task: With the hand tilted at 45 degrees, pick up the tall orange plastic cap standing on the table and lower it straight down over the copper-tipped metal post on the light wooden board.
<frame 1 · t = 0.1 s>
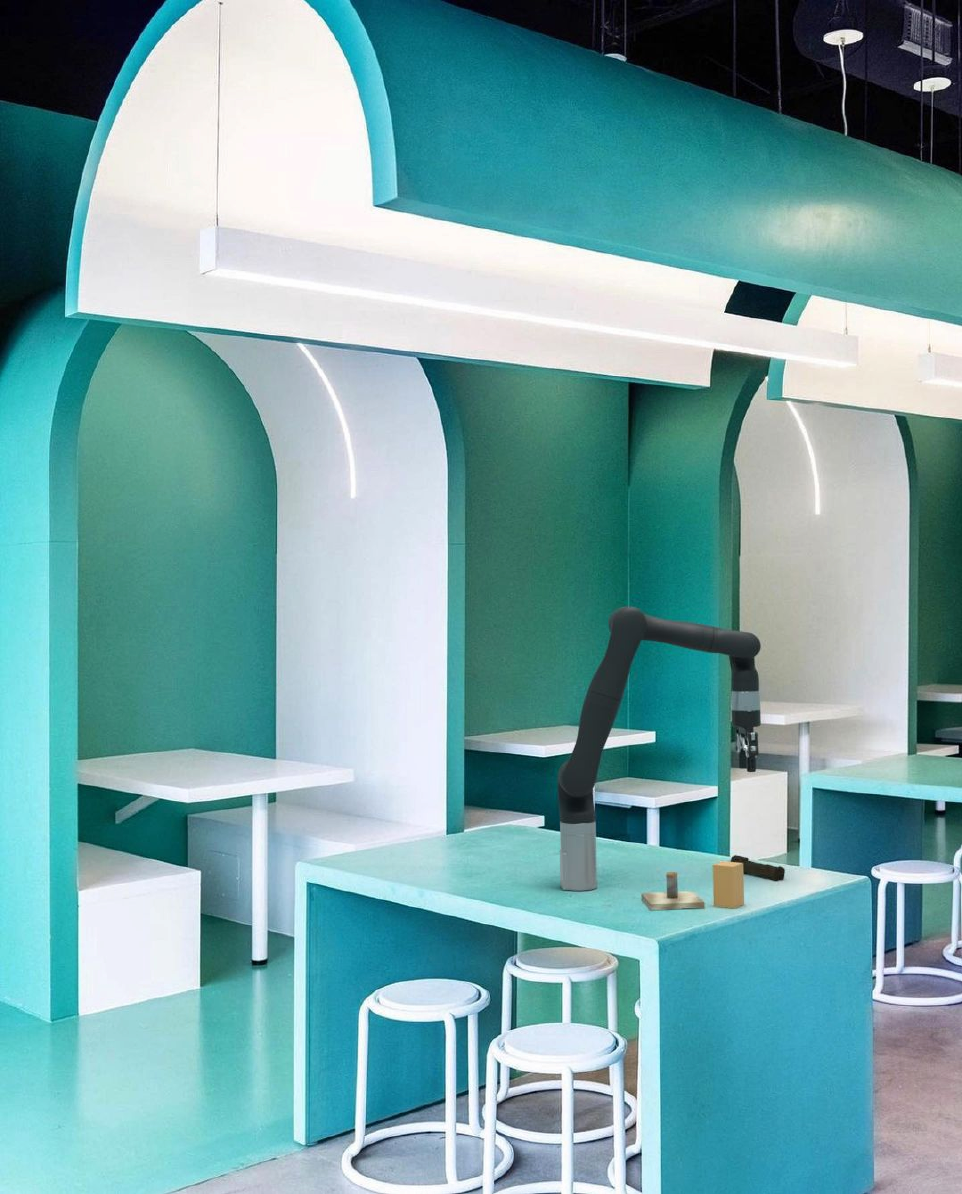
hand: (747, 770, 362), 29 cm above the table, tool pointing down, fingers open, 8 cm apart
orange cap: (728, 905, 334), on the table
post board: (672, 903, 338), on the table
hand tool: (753, 877, 370), on the table
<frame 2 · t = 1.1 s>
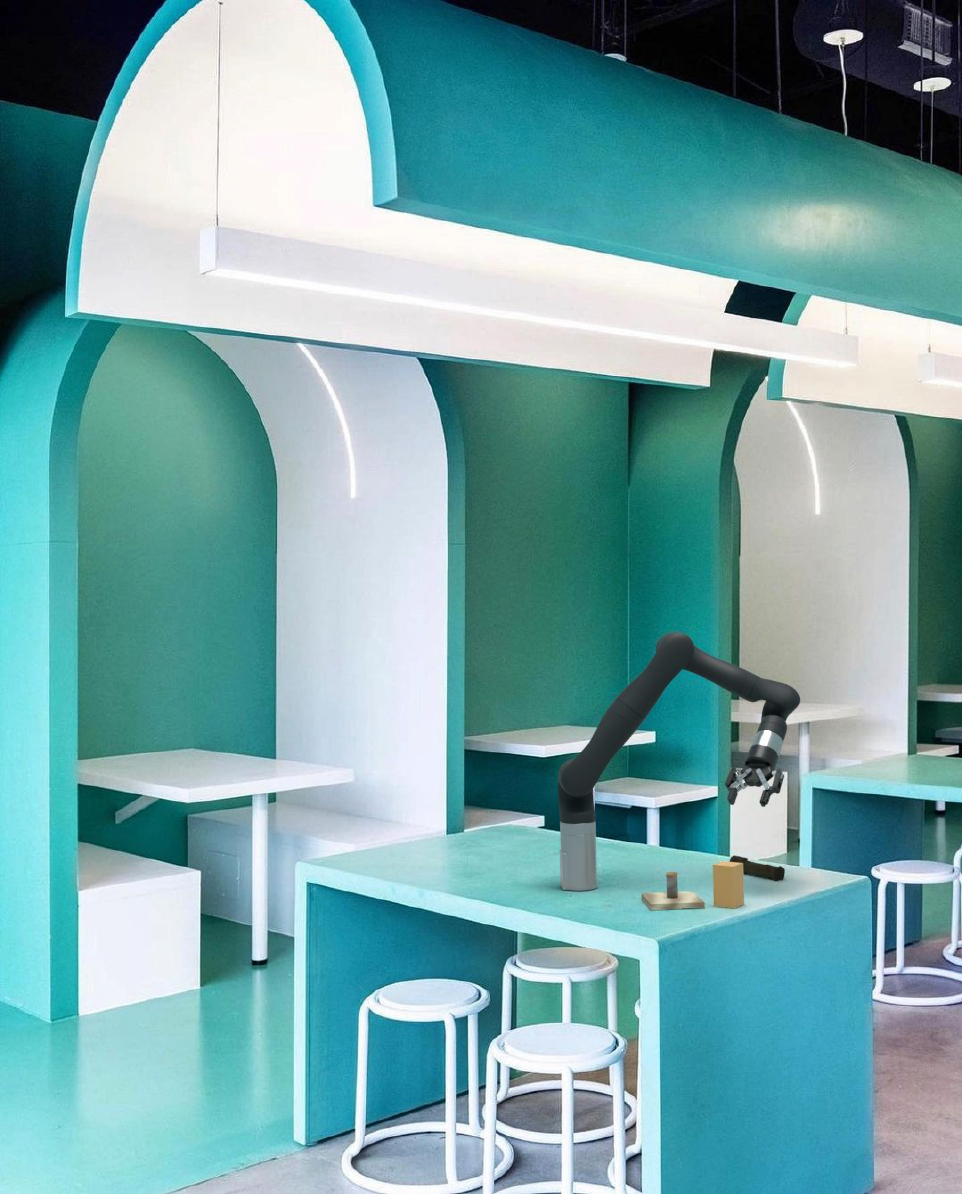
hand: (746, 804, 343), 23 cm above the table, tool tilted 45°, fingers open, 8 cm apart
nothing on the table moved.
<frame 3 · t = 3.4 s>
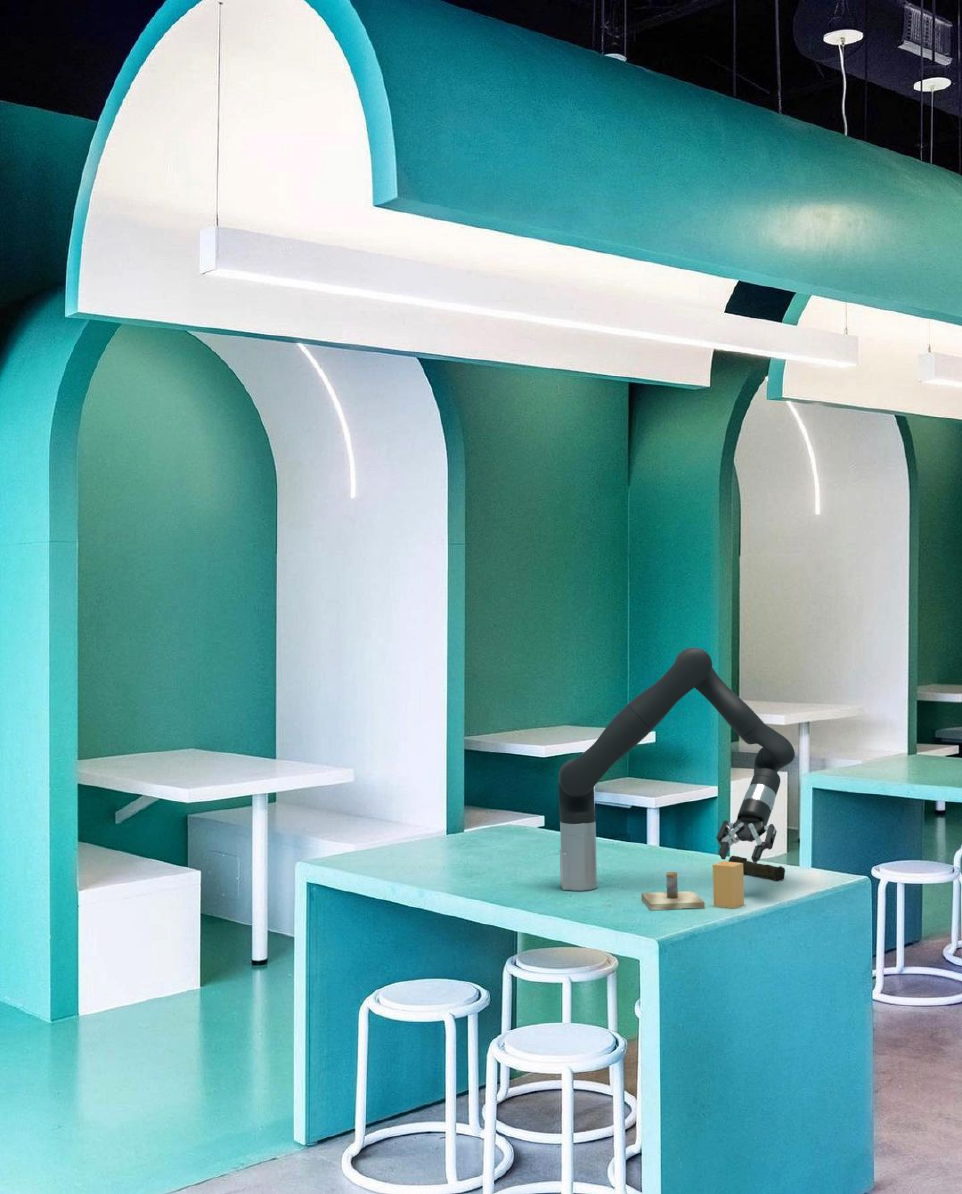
hand: (737, 859, 339), 10 cm above the table, tool tilted 45°, fingers open, 8 cm apart
nothing on the table moved.
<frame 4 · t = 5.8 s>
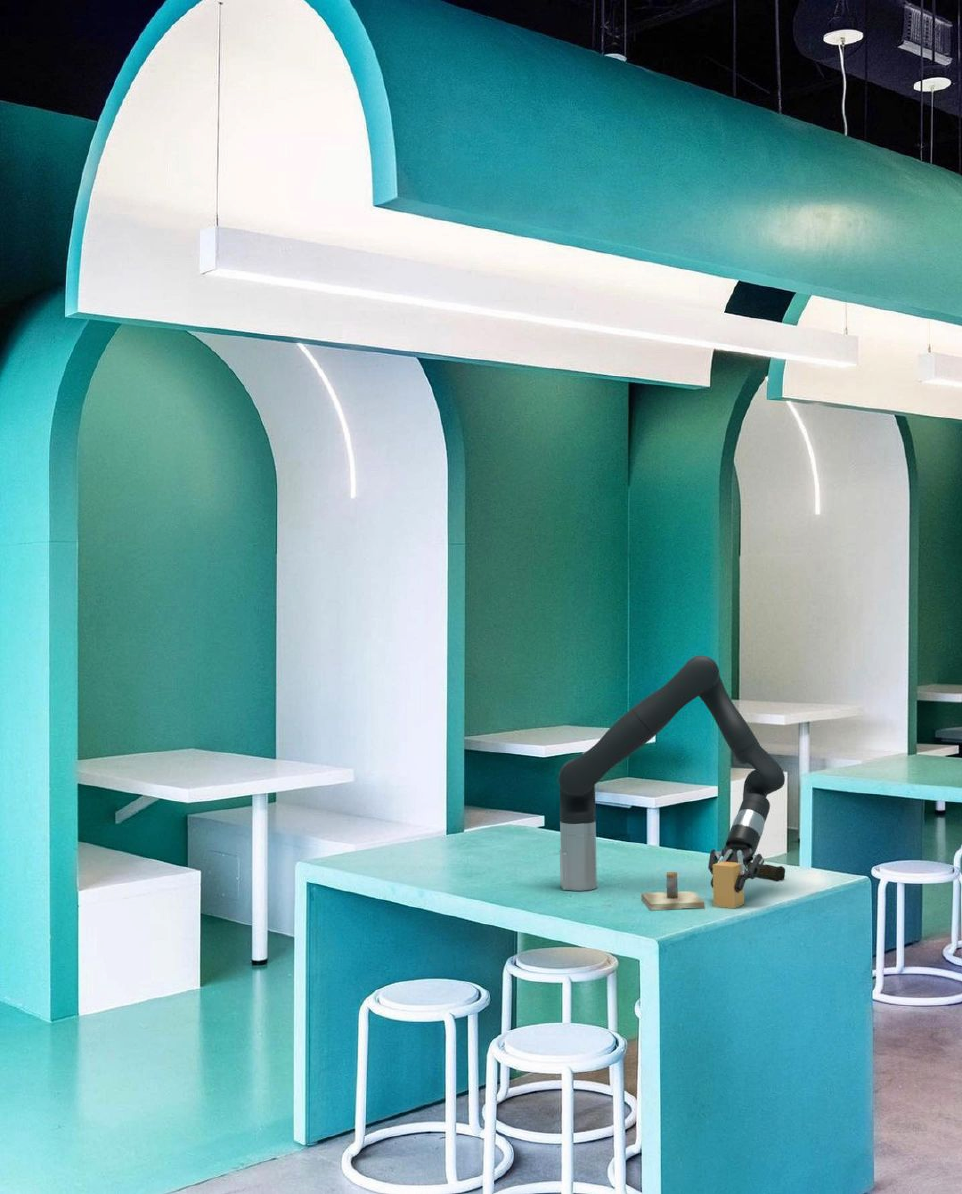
hand: (725, 889, 333), 4 cm above the table, tool tilted 45°, fingers closed on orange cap, 5 cm apart
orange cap: (729, 905, 334), on the table, touching gripper
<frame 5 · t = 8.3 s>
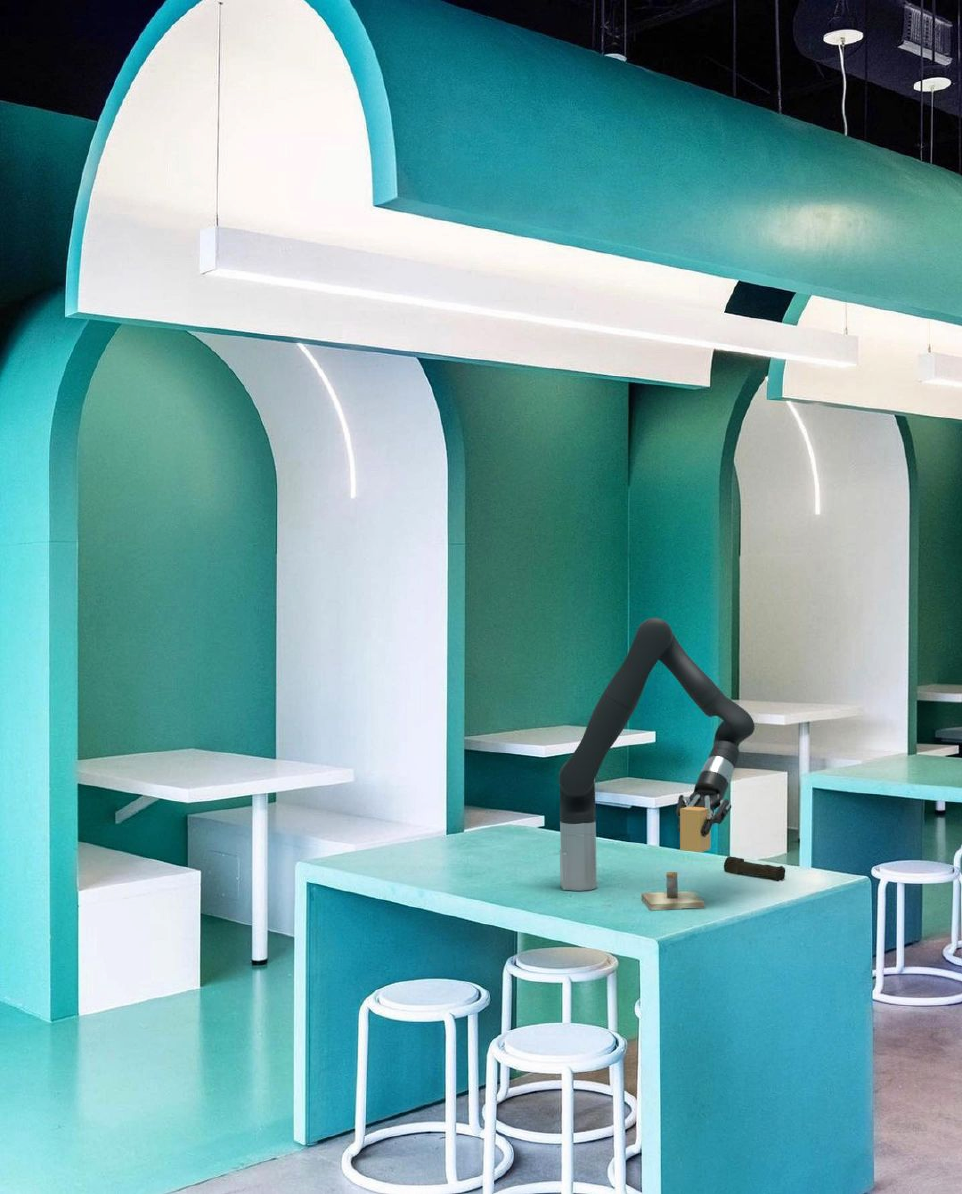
hand: (691, 833, 335), 18 cm above the table, tool tilted 45°, fingers closed on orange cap, 5 cm apart
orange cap: (695, 849, 336), point 13 cm above the table, touching gripper
when the fingers open (7 cm above the table, at t = 10.9 s): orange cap stays where it is, resting on post board.
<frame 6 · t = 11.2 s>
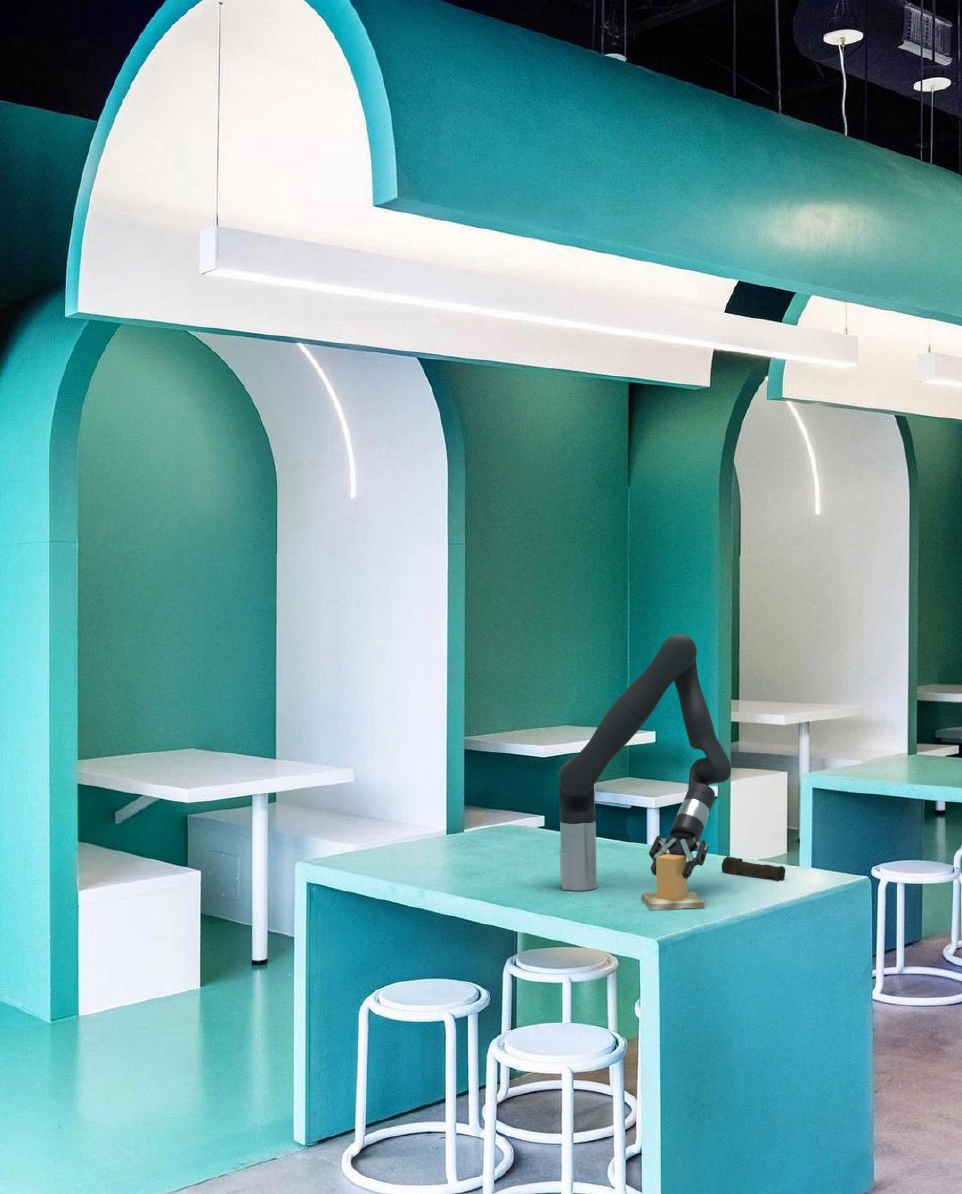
hand: (669, 875, 337), 7 cm above the table, tool tilted 45°, fingers open, 8 cm apart
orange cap: (672, 897, 338), point 1 cm above the table, touching post board
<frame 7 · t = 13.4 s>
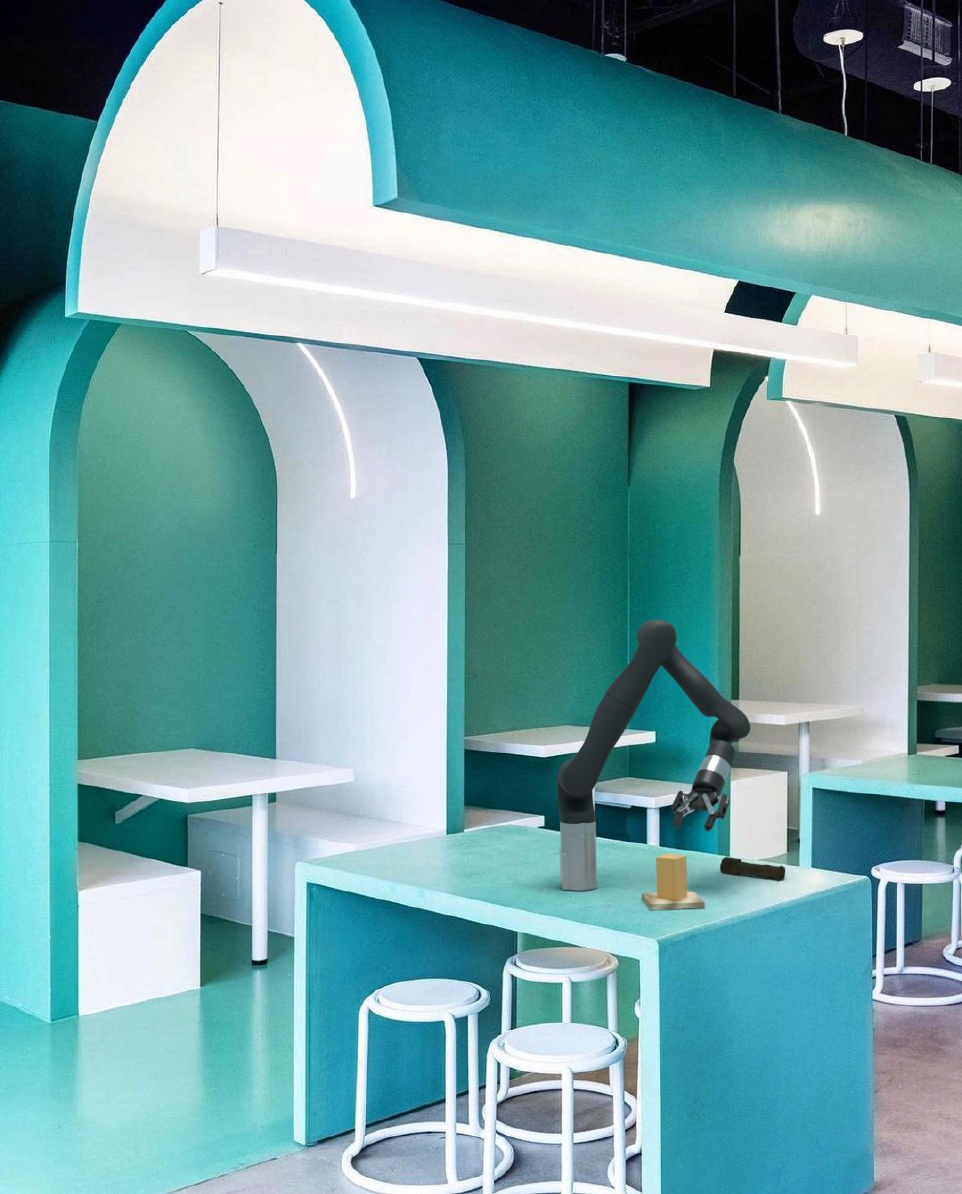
hand: (691, 828, 346), 17 cm above the table, tool tilted 45°, fingers open, 8 cm apart
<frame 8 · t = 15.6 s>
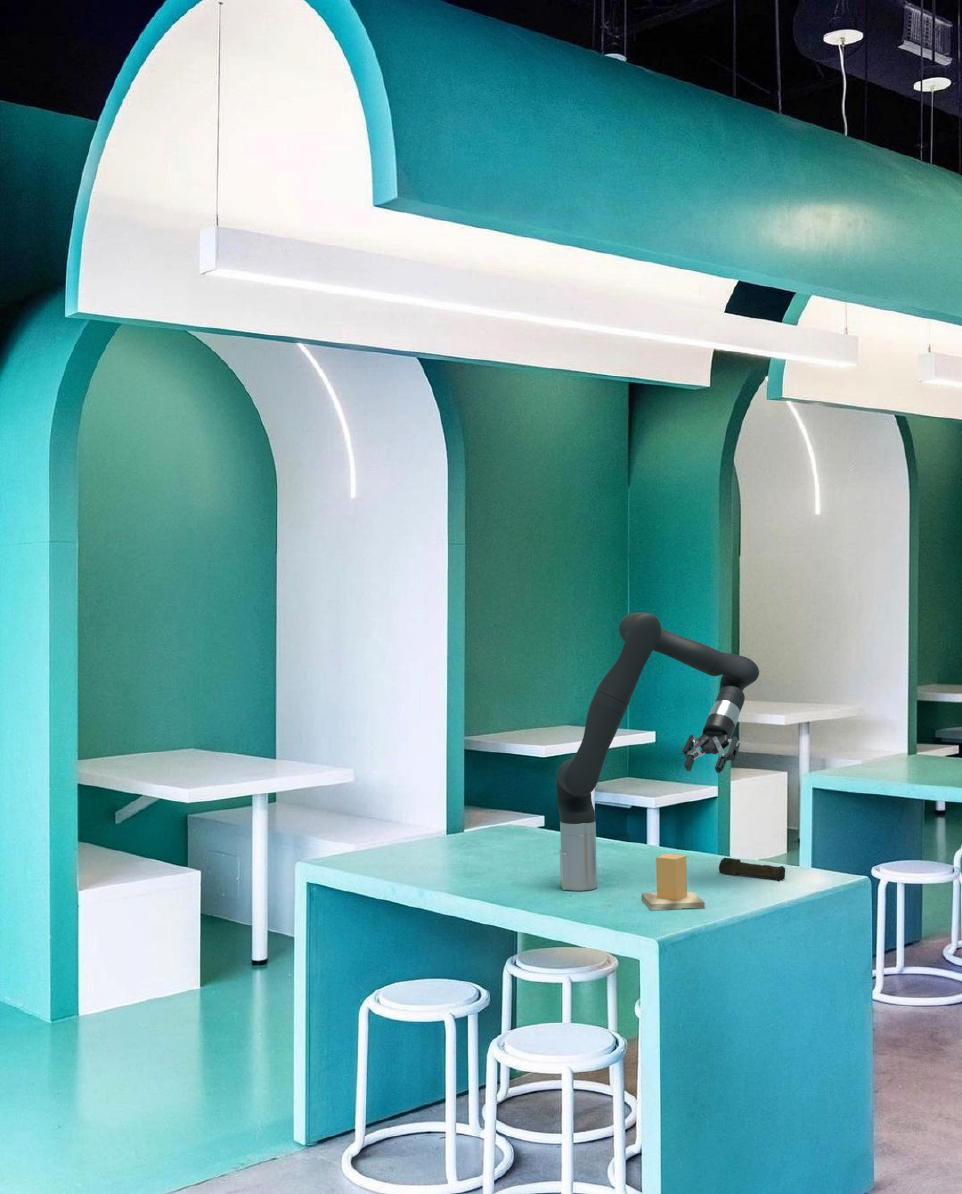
hand: (702, 770, 353), 31 cm above the table, tool tilted 45°, fingers open, 8 cm apart
at the end: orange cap 0.1 cm from the post board (horizontally); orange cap point 1.5 cm above the table; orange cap tilted 0° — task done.
